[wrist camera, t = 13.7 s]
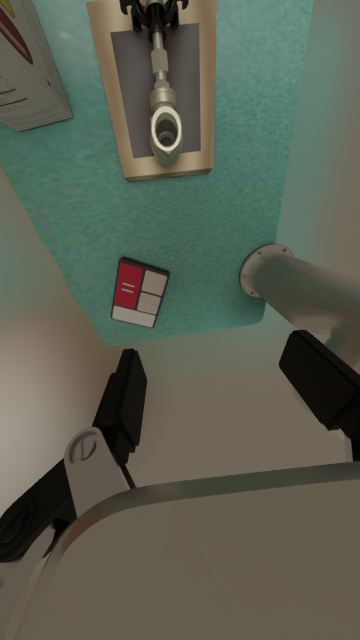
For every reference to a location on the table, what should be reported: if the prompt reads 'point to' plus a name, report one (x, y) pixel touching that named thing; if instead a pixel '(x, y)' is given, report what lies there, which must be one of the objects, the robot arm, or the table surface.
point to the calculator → (138, 292)
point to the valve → (160, 73)
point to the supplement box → (27, 71)
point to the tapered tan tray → (138, 82)
